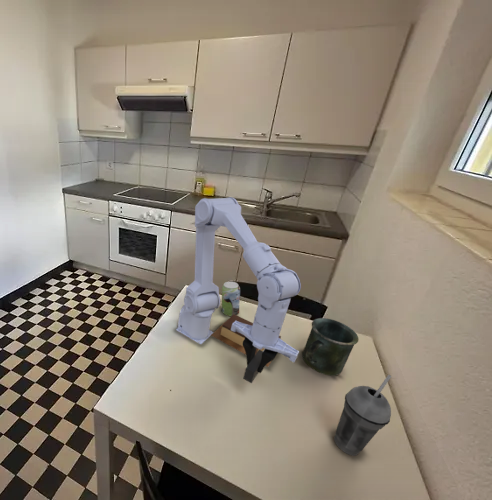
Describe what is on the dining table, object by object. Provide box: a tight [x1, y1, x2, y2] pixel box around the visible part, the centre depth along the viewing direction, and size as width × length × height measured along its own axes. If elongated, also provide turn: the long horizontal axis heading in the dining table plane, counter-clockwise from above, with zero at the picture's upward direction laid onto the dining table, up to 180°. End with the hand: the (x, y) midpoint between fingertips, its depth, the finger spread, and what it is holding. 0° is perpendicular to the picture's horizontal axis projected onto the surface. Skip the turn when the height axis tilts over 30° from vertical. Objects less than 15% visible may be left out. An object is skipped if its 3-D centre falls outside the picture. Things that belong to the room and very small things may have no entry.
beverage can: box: [221, 281, 241, 317], centre depth 99 cm, size 6×7×12 cm
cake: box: [220, 314, 253, 346], centre depth 89 cm, size 8×8×4 cm
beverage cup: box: [333, 374, 392, 457], centre depth 56 cm, size 7×7×20 cm
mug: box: [301, 317, 359, 377], centre depth 78 cm, size 11×15×12 cm
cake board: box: [210, 322, 273, 368], centre depth 87 cm, size 18×12×1 cm, turn 48°
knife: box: [242, 349, 265, 384], centre depth 70 cm, size 2×18×4 cm, turn 138°
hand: (254, 367), depth 67 cm, fingers closed on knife, 2 cm apart
